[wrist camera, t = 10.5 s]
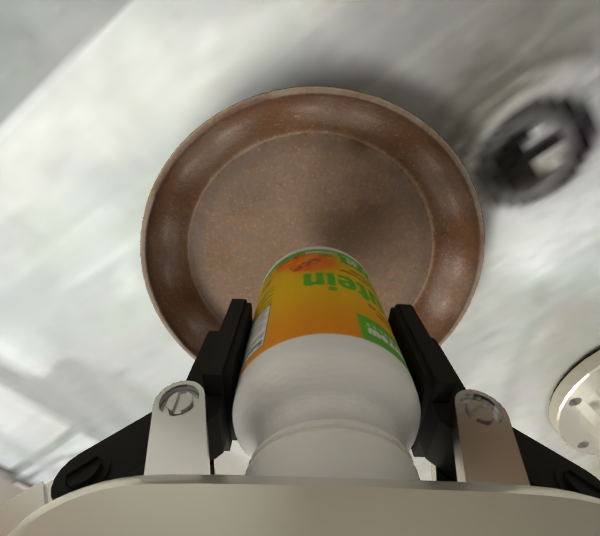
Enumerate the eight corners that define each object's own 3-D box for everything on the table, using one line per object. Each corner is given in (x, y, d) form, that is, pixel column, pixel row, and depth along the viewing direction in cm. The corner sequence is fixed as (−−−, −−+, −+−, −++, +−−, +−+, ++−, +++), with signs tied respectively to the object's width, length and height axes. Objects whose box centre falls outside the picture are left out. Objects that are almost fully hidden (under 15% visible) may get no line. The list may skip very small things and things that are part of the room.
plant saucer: (345, -6, 13) (356, -39, 10) (507, 277, 19) (542, 304, 16) (102, 238, 18) (66, 259, 15) (291, 400, 24) (290, 436, 21)
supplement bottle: (392, 267, 14) (539, 509, 5) (341, 350, 16) (386, 616, 8) (284, 225, 13) (250, 431, 4) (246, 318, 15) (173, 577, 7)
